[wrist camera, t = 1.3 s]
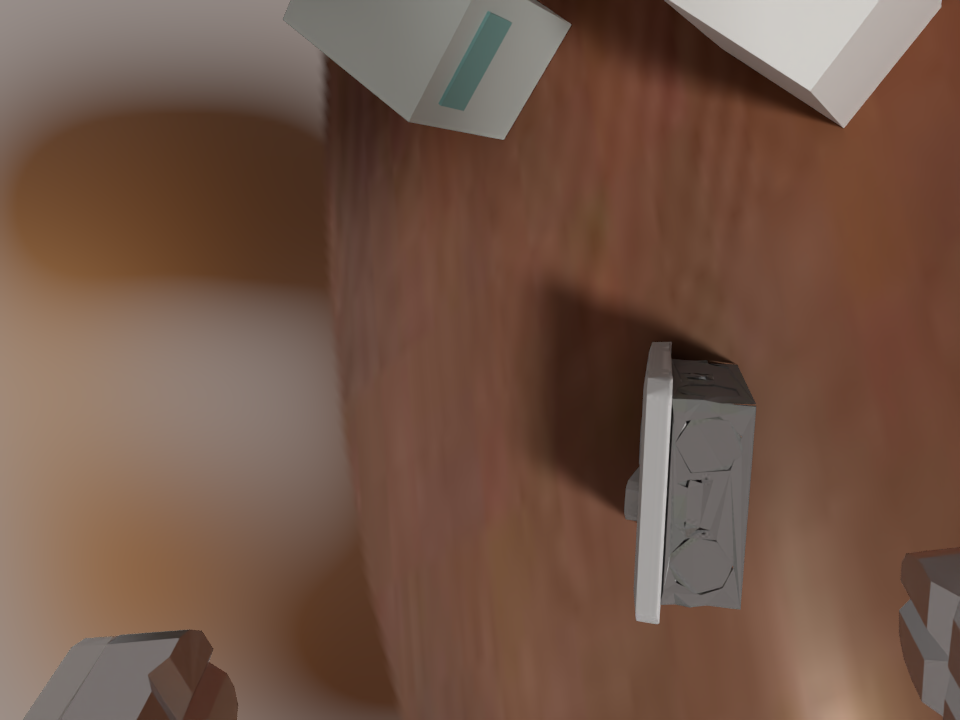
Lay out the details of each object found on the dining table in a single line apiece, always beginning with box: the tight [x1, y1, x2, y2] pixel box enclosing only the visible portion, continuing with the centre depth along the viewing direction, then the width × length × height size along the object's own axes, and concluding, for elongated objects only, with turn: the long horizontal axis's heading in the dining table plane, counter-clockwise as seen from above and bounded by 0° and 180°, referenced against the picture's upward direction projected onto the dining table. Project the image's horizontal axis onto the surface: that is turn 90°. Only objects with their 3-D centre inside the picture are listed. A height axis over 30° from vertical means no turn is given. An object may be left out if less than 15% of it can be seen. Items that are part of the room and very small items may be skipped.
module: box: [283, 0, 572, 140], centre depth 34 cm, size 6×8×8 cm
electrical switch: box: [624, 342, 756, 624], centre depth 31 cm, size 9×5×9 cm, turn 179°
